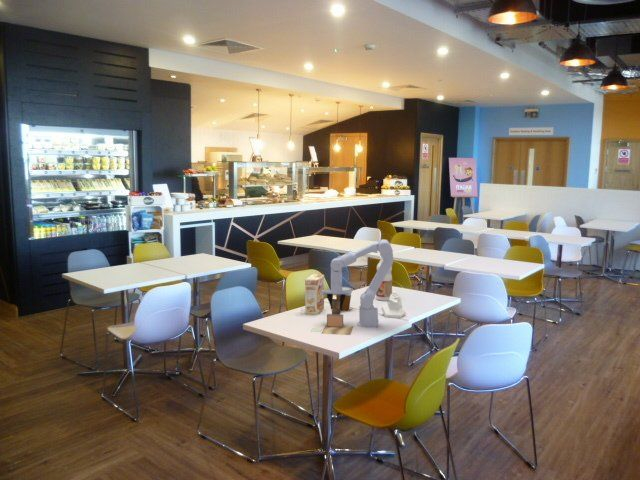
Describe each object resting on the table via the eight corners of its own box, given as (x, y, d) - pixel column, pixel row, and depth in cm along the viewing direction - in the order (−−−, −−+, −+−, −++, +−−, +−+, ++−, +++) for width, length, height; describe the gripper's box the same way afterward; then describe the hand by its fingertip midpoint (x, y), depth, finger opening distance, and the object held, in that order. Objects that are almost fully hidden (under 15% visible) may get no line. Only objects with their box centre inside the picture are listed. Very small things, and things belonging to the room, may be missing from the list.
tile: (343, 326, 265) (343, 314, 264) (342, 327, 262) (342, 315, 262) (327, 325, 266) (327, 313, 265) (326, 326, 264) (326, 315, 263)
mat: (353, 326, 265) (353, 326, 265) (350, 335, 251) (350, 334, 251) (325, 325, 267) (325, 324, 267) (321, 334, 254) (321, 333, 253)
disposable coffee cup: (354, 310, 293) (355, 289, 292) (339, 312, 290) (339, 291, 288) (347, 306, 302) (347, 285, 300) (332, 308, 299) (332, 287, 297)
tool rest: (322, 329, 260) (322, 328, 260) (320, 332, 256) (320, 332, 255) (312, 329, 261) (312, 328, 261) (310, 332, 256) (310, 331, 256)
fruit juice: (392, 301, 313) (392, 254, 309) (376, 301, 314) (376, 254, 310) (391, 297, 322) (392, 251, 318) (375, 297, 323) (376, 251, 319)
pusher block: (340, 312, 270) (340, 299, 269) (339, 314, 266) (339, 301, 265) (333, 312, 271) (333, 298, 270) (331, 314, 267) (331, 300, 266)
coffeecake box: (317, 315, 285) (317, 279, 282) (304, 314, 287) (304, 279, 284) (324, 308, 299) (324, 274, 296) (312, 307, 301) (312, 273, 298)
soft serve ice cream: (409, 315, 288) (415, 292, 283) (395, 324, 277) (400, 300, 272) (390, 306, 295) (395, 283, 290) (375, 314, 284) (380, 291, 279)
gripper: (351, 281, 269) (351, 307, 271) (323, 280, 271) (323, 306, 273) (350, 284, 262) (350, 311, 264) (321, 283, 264) (321, 309, 266)
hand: (336, 308), depth 268 cm, fingers closed on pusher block, 4 cm apart
